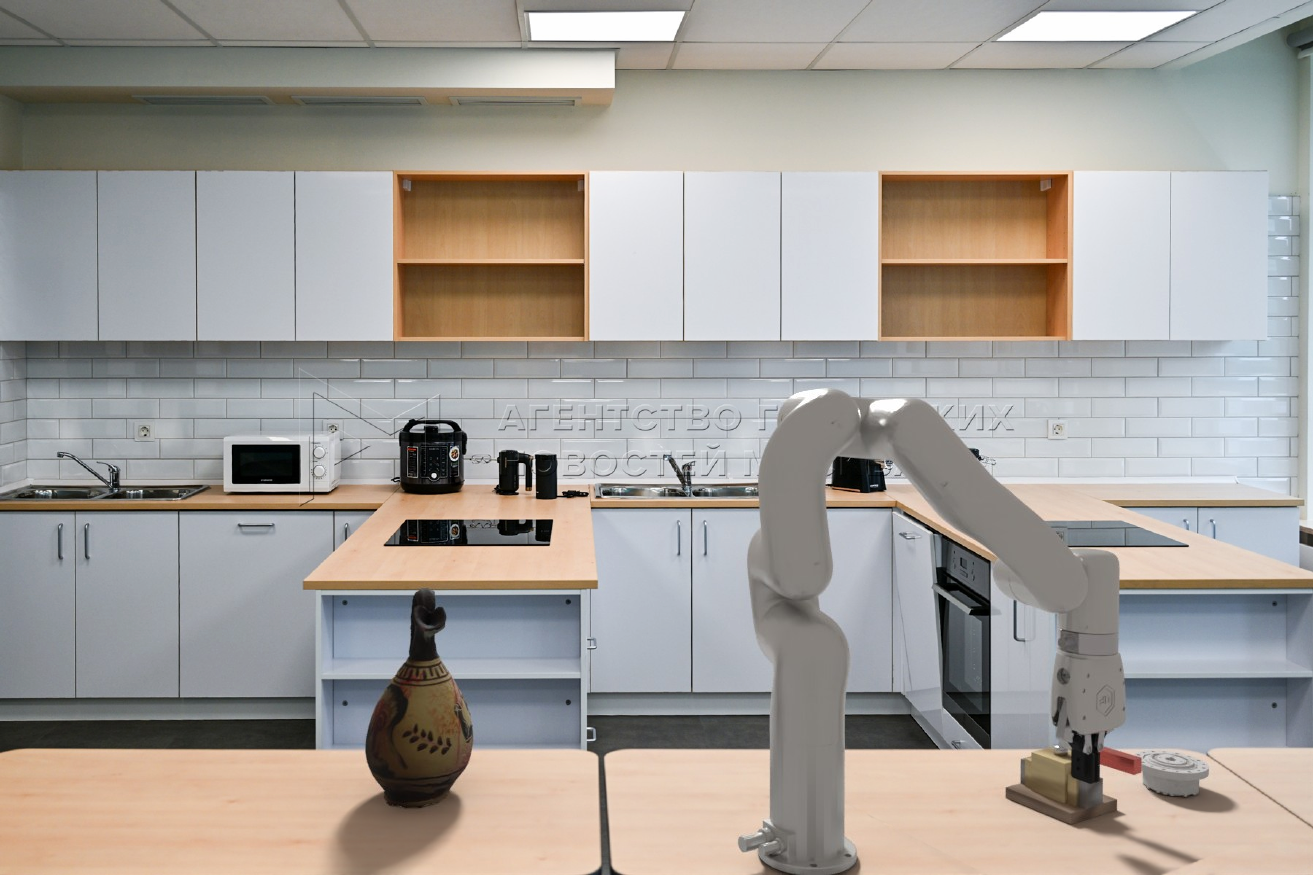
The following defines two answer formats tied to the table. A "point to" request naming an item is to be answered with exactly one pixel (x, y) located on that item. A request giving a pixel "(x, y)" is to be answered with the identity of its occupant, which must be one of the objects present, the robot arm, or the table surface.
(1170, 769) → the mechanical component
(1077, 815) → the valve block
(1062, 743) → the valve lever
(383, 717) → the ceramic jug
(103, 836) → the table surface
